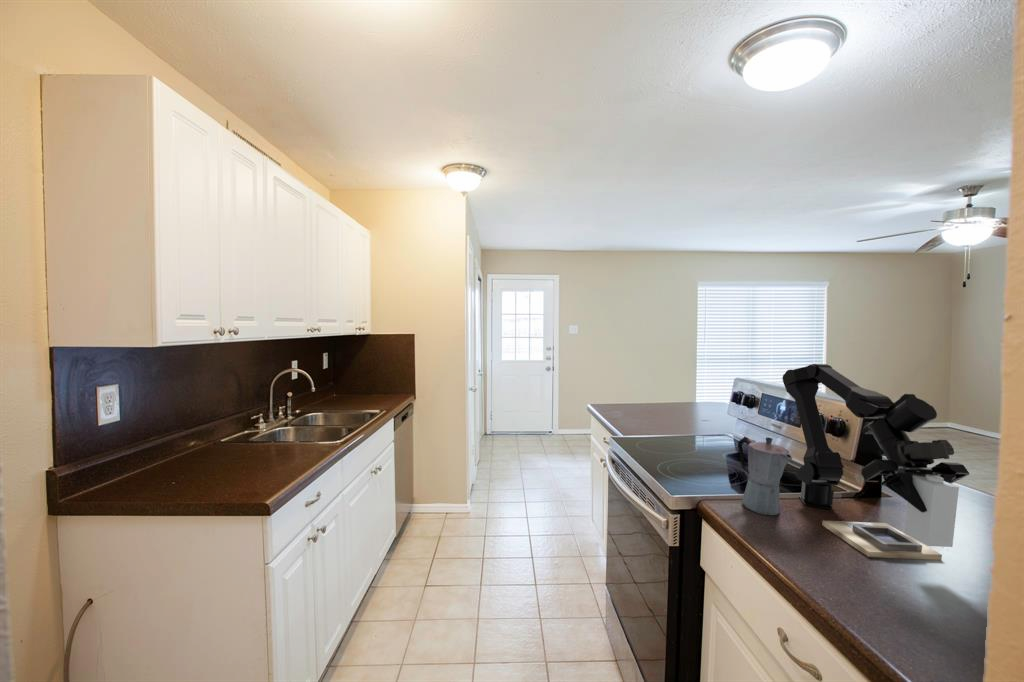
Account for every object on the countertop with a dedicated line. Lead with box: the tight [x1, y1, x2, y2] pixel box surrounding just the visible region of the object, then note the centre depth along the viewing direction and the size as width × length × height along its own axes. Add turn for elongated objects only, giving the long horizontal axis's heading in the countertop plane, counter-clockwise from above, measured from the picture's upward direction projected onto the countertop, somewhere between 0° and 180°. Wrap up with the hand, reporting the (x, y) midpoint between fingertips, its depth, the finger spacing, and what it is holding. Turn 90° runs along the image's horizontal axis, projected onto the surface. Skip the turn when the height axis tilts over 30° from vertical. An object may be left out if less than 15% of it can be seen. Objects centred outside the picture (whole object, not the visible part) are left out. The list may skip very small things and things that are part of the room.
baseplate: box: [821, 520, 943, 561], centre depth 99 cm, size 14×16×3 cm
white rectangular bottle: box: [904, 474, 960, 548], centre depth 87 cm, size 5×5×14 cm
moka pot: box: [737, 436, 793, 516], centre depth 115 cm, size 10×15×20 cm, turn 27°
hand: (937, 512), depth 86 cm, fingers closed on white rectangular bottle, 5 cm apart
